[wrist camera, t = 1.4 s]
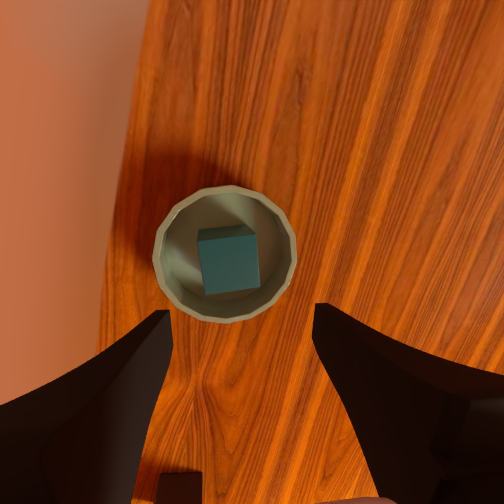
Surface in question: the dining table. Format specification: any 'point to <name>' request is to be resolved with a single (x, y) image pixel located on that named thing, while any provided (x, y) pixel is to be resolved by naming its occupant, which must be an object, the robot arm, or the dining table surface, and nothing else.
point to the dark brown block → (179, 488)
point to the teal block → (228, 258)
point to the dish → (187, 257)
